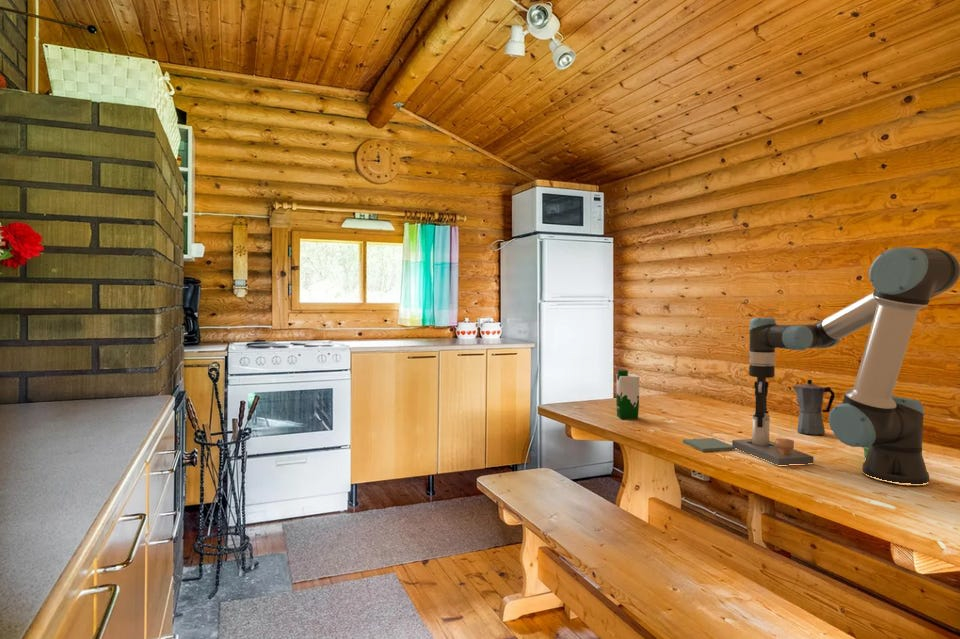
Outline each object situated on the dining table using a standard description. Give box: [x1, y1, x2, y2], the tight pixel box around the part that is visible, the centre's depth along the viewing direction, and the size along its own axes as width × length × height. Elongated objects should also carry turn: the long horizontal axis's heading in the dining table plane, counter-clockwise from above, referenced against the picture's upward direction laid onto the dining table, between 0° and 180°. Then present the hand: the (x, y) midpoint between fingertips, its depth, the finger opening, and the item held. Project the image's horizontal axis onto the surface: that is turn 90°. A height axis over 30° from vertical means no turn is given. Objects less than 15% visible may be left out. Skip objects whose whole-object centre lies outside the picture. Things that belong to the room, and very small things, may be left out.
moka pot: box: [792, 379, 836, 436], centre depth 207 cm, size 10×15×20 cm, turn 33°
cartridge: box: [751, 412, 771, 447], centre depth 183 cm, size 5×5×11 cm
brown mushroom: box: [775, 437, 795, 455], centre depth 173 cm, size 5×5×6 cm
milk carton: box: [615, 369, 640, 420], centre depth 234 cm, size 9×9×20 cm
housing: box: [731, 438, 815, 465], centre depth 178 cm, size 22×12×2 cm, turn 11°
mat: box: [682, 437, 736, 453], centre depth 190 cm, size 12×12×1 cm
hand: (760, 434), depth 183 cm, fingers closed on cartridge, 5 cm apart
